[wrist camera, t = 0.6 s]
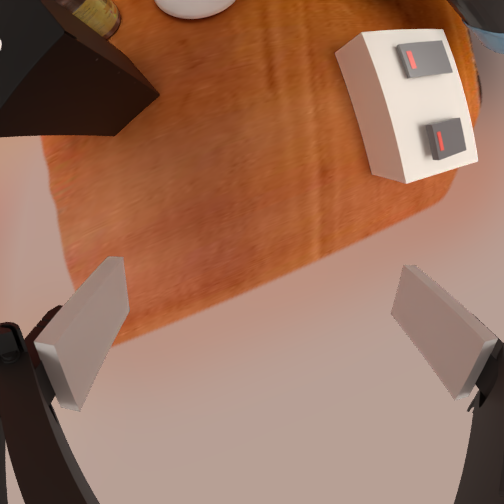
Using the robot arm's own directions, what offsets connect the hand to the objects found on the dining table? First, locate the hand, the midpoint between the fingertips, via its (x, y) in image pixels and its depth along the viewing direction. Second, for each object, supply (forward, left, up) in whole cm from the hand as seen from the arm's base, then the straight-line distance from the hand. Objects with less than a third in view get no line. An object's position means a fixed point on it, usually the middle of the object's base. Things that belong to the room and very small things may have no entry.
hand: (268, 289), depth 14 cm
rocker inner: (-25, +2, -16) cm, 30 cm away
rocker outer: (-21, +10, -16) cm, 28 cm away
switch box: (-23, +6, -26) cm, 36 cm away
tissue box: (0, -21, -26) cm, 34 cm away
